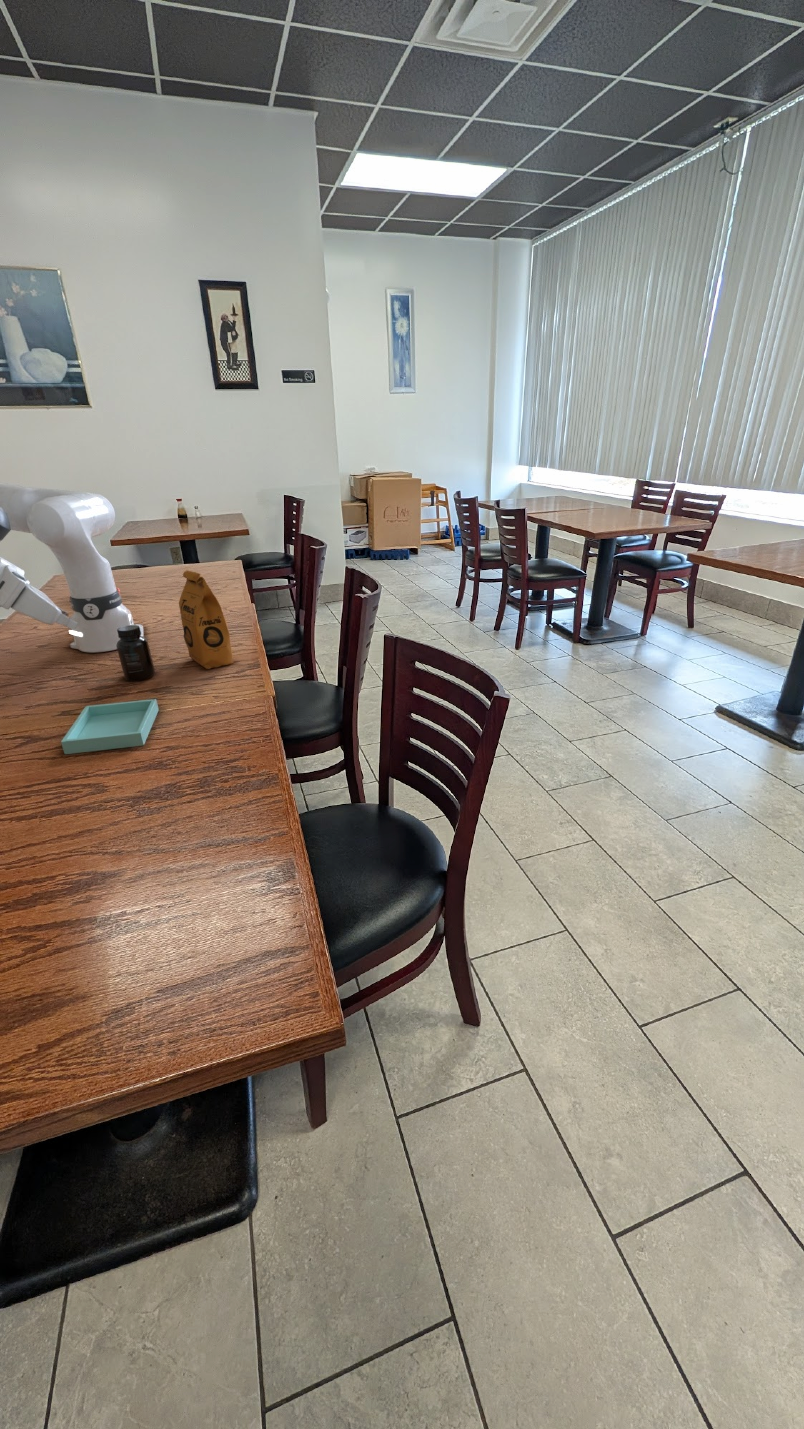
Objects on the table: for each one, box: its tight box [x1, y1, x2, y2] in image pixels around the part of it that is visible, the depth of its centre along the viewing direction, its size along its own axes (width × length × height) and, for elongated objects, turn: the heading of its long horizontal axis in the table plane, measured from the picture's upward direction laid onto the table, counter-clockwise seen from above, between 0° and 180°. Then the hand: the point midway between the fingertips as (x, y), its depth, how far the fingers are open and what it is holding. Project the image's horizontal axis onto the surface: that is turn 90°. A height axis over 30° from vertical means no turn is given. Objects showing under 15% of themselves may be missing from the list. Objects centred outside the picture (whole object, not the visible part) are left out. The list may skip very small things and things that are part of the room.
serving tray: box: [60, 698, 160, 755], centre depth 113 cm, size 16×14×3 cm
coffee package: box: [178, 569, 234, 670], centre depth 142 cm, size 10×12×22 cm
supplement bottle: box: [116, 625, 156, 682], centre depth 136 cm, size 7×7×12 cm
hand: (70, 621), depth 126 cm, fingers open, 8 cm apart
